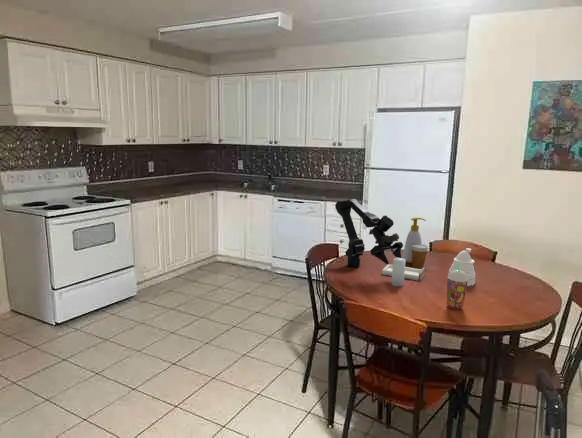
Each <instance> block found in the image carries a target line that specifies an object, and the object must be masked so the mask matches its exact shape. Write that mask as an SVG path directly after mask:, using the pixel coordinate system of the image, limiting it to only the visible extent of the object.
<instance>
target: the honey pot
mask: <svg viewBox="0 0 582 438" xmlns="http://www.w3.org/2000/svg"><path fill="white" fill-rule="evenodd" d="M471 252H472V248H465V250H462V251H460V252H459V253H458V254H457V255H456V256H455V257H454V258H453V262H452V264H451V266H450V268H449V270H448V275H449V274H450V273H451V272H452V271H453V270H458V264H460V270H462V271H463V272H465V274H466V276H467V278H468V283H467V287H472V286H475V282H476V272H475V267H474V264H475V260H474V259H472V257H471V255H470V254H469V253H471ZM471 285H472V286H471Z"/></svg>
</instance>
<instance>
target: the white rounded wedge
mask: <svg viewBox="0 0 582 438" xmlns="http://www.w3.org/2000/svg"><path fill="white" fill-rule="evenodd" d="M406 263H407V262H406V259H404V258H403V257H401V258H396V257H393V258H392V265H393V269H392V276H391V282H390V283H391V285H392V286H395V287H403V286H404V285H405V278H404V274H405V267H406Z"/></svg>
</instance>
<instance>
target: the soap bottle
mask: <svg viewBox="0 0 582 438" xmlns="http://www.w3.org/2000/svg"><path fill="white" fill-rule="evenodd" d="M410 220H411V221H413V224H411V225H410V226H411V227H410V231H408V234H407V236H406V240H405V243H404V246H403V247H404V248H403V254H402V255H403V256H402V258H404V259H406V262H405V263H409V264H412V249H411V247H412V245H413V244H422V237H421V233H420V231H419V229H420V226H419V225H418V220H422V221H424V222H426V219H424V218H422V217H412V218H411V219H410Z"/></svg>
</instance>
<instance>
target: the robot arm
mask: <svg viewBox="0 0 582 438" xmlns="http://www.w3.org/2000/svg"><path fill="white" fill-rule="evenodd" d="M334 206H335V207H334V208H335V210H336V213H338V215H339V216H340V217H341V218H342V222H343V224H344V229H345V231H346V234H347V238H348V246H347V247H348V249H346V250H345V252H344V253H345V256H346V257H347V265H346V267H348V268H353V269H354V268H355V269H358V268H359V267H360V266H361V265H362V264H361V262H362V261H361V260H362V258H361V256H363V254H364V252H365V250H366V249H365V244H364V243H365V242H364V239H362V238H359V236H358V233H357V231H356V228H355V225H354V221H353V219H352V216H351V212H352V211H354V212H355V213H356V214H357V215H358V216H359V217H360V218H361V219H362V223H363V224H364V226H365V227H366V228H369V232H368V235H373V238H374V239H375V241H374V243H375V244H377V245H374V246H373V247H372V248H371V249H370V255H371V256H372V257H375V258H377V259H379V260H380V261H381V262H383V263H384V264H386V266H387V265H388V264H390V263H389V260H388V258H387V256H386V255H385V251H391V253H392V254H393V256H394V258H402V254H401V253H402V252H401V251H402V249H403V247H405V244H403V242H402V241H399V240H400V235H399V234H398V233H397V232H396V233H392V235H389V234H386V232H388V231H389V230H390V229H391V228H392V227H393V226H394V221H393V219H392V218H390V217H388V216H387V215H382V216H381V218H379V217H378V216H377V215H376V214H374V213H372V212H369V211H368V210H367V209H366V208H365V207H364V206H363V205H361V203H360V202H358V200H357V198H356V199H355V198H349V199H347V200H346V199H345V200H338V201H336V202H335V205H334ZM351 210H352V211H351ZM370 228H371V229H370Z"/></svg>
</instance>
